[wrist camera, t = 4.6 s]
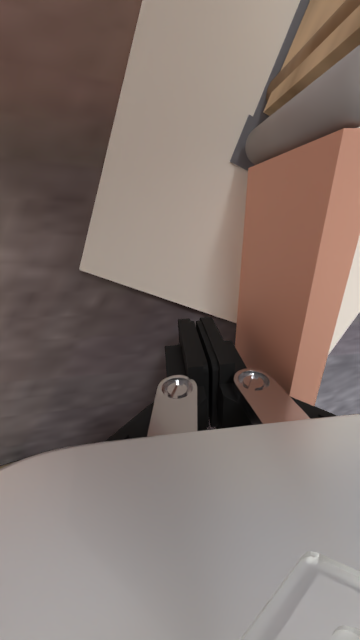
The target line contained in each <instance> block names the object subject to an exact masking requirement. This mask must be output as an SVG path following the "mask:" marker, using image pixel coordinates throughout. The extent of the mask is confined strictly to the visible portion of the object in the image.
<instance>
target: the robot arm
mask: <svg viewBox="0 0 360 640" xmlns="http://www.w3.org/2000/svg"><path fill="white" fill-rule="evenodd" d="M178 328H179V345H175V346H165V354H166V370H167V378H165V379H163V380H162V381H161V382H160V383H159V385H158V387H157V392H156V397H155V401H154V402H153V403H152V404H150V405H149V406H148V407H147V408H146V409H144V410H143V411H142V412H141V413H139V414H138V415H137V416H136V417H134V418H133V419H132V420H131V421H130V422H128V423H127V424H126V425H125V426H123V427H122V428H121V429H120V430H118V431H117V432H116V433H115V434H114V435H112V436H111V437H110V438H109V439H108V440H107V441H105V442H98V443H92V444H85V445H78V446H71V447H65V448H60V449H56V450H51V451H47V452H43V453H40V454H37V455H34V456H31V457H27V458H24V459H22V460H20V461H17V462H15V463H13V464H10V465H8V466H5V467H3V468H1V469H0V640H360V414H352V415H343V416H336V415H334V414H332V413H329V412H327V411H324V410H322V409H320V408H317V407H315V406H312V405H310V404H307V403H305V402H302V401H300V400H298V399H295V398H293V397H290V396H289V395H288V394H287V393H286V392H285V391H284V390H283V389H282V388H281V386H280V385H279V384H278V383H277V382H276V381H275V380H274V379H273V378H272V377H271V376H270V375H269V374H268V373H266V372H264V371H262V370H258V369H252V368H247V367H246V365H245V364H244V362H243V360H242V358H241V356H240V355H239V353H238V351H237V349H236V348H235V346H234V344H233V342H232V341H224V340H223V338H222V336H221V334H220V332H219V330H218V328H217V326H216V324H215V322H214V320H213V318H212V317H204V318H200V321H196V326H195V323H194V321H190V319H178ZM209 420H210V424H211V427H215V426H216V429H212V430H207V427H209Z"/></svg>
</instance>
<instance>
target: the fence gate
mask: <svg viewBox="0 0 360 640" xmlns="http://www.w3.org/2000/svg"><path fill="white" fill-rule="evenodd" d="M358 127H360V45H359V46H357V47H356V48H355V49H354V50H352V51H351V52H350V53H349V54H347V55H346V56H345V57H344V58H342V59H341V60H340V61H339V62H337V63H336V64H335V65H334V66H332V67H331V68H330V69H329V70H327V71H326V72H325V73H324V74H322V75H321V76H320V77H318V78H317V79H316V80H315V81H313V82H312V83H311V84H310V85H308V86H307V87H306V88H305V89H303V90H302V91H301V92H300V93H298V94H297V95H296V96H295V97H293V98H292V99H291V100H290V101H288V102H287V103H286V104H285V105H283V106H282V107H281V108H280V109H278V110H277V111H276V112H274V113H273V114H272V115H271V116H269V117H268V118H267V119H266V120H264V121H263V122H262V123H261V124H259V125H258V126H257V127H256V128H254V129H253V130H252V131H251V132H250V134H249V135H248V137H247V140H246V145H245V150H246V155H247V157H248V159H249V160H250V161H251V162H252V163H253V164H255V166H252V167H250V168H248V180H247V193H246V206H245V220H244V233H243V246H242V260H241V273H240V286H239V300H238V313H237V326H236V340H235V348H236V349H237V351H238V353H239V355H240V356H241V358H242V360H243V362H244V364H245V365H246V367H247V368H252V369H258V370H262V371H264V372H266V373H268V374H269V375H270V376H271V377H272V378H273V379H274V380H275V381H276V382H277V383H278V384H279V385H280V386H281V388H282V389H283V390H284V391H285V392H286V393H287V394H288V395H289V396H290V397H293V398H295V399H298V400H300V401H302V402H305V403H307V404H310V405H312V406H315V402H316V398H317V394H318V390H319V387H320V383H321V379H322V375H323V372H324V368H325V364H326V360H327V356H328V353H329V349H330V345H331V341H332V337H333V334H334V330H335V326H336V322H337V318H338V315H339V311H340V307H341V303H342V300H343V296H344V292H345V288H346V284H347V281H348V277H349V273H350V269H351V265H352V262H353V258H354V254H355V250H356V246H357V243H358V239H359V235H360V128H358Z"/></svg>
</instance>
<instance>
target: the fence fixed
mask: <svg viewBox="0 0 360 640" xmlns="http://www.w3.org/2000/svg"><path fill="white" fill-rule="evenodd" d="M359 45H360V0H310V2H309V4H308V7H307V9H306V11H305V14H304V16H303V19H302V21H301V23H300V26H299V28H298V31H297V33H296V35H295V38H294V40H293V42H292V45H291V47H290V50H289V52H288V54H287V57H286V59H285V61H284V64H283V66H282V69H281V71H280V72H279V73H278V74H277V76H276V77H275V78H274V79H273V80H272V81H271V82H270V84H269V86H268V89H267V93H266V100H267V104H266V107H265V109H264V111H263V113H265V114H267V115H269V116H271V115H272V114H273V113H274V112H276V111H277V110H278V109H280V108H281V107H282V106H283V105H285V104H286V103H287V102H288V101H290V100H291V99H292V98H293V97H295V96H296V95H297V94H298V93H300V92H301V91H302V90H303V89H305V88H306V87H307V86H308V85H310V84H311V83H312V82H313V81H315V80H316V79H317V78H318V77H320V76H321V75H322V74H324V73H325V72H326V71H327V70H329V69H330V68H331V67H332V66H334V65H335V64H336V63H337V62H339V61H340V60H341V59H342V58H344V57H345V56H346V55H347V54H349V53H350V52H351V51H352V50H354V49H355V48H356V47H357V46H359Z"/></svg>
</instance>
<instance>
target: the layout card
mask: <svg viewBox="0 0 360 640" xmlns="http://www.w3.org/2000/svg"><path fill="white" fill-rule="evenodd" d="M309 2H310V0H142V4H141V8H140V12H139V17H138V21H137V25H136V29H135V34H134V38H133V42H132V46H131V51H130V55H129V59H128V63H127V68H126V72H125V76H124V81H123V85H122V89H121V93H120V98H119V102H118V106H117V110H116V115H115V119H114V123H113V127H112V132H111V136H110V140H109V144H108V149H107V153H106V157H105V161H104V166H103V170H102V174H101V178H100V183H99V187H98V191H97V195H96V200H95V204H94V208H93V212H92V217H91V221H90V225H89V229H88V234H87V238H86V242H85V246H84V251H83V255H82V259H81V263H80V268H79V270H81V271H84V272H87V273H90V274H93V275H96V276H99V277H102V278H105V279H108V280H111V281H113V282H116V283H119V284H122V285H125V286H128V287H131V288H134V289H137V290H140V291H143V292H146V293H149V294H152V295H155V296H158V297H161V298H163V299H166V300H169V301H172V302H175V303H178V304H181V305H184V306H187V307H190V308H193V309H196V310H199V311H202V312H205V313H208V314H211V315H213V316H216V317H219V318H222V319H225V320H228V321H231V322H234V323H237V313H238V300H239V286H240V273H241V260H242V246H243V233H244V220H245V206H246V193H247V180H248V168H250V167H252V166H255V164H253V163H252V162H251V161H250V160H249V159H248V157H247V155H246V150H245V145H246V140H247V137H248V135H249V134H250V132H251V131H252V130H253V129H254V128H256V127H257V126H258V125H259V124H261V123H262V122H263V121H264V120H266V119H267V118H268V117H269V115H267V114H265V113H263V111H264V109H265V107H266V104H267V100H266V93H267V89H268V86H269V84H270V82H271V81H272V80H273V79H274V78H275V77H276V76H277V74H278V73H279V72H280V71H281V69H282V66H283V64H284V61H285V59H286V57H287V54H288V52H289V50H290V47H291V45H292V42H293V40H294V38H295V35H296V33H297V31H298V28H299V26H300V23H301V21H302V19H303V16H304V14H305V11H306V9H307V7H308V4H309ZM358 128H360V127H358ZM359 312H360V235H359V239H358V243H357V246H356V250H355V254H354V258H353V262H352V265H351V269H350V273H349V277H348V281H347V284H346V288H345V292H344V296H343V300H342V303H341V307H340V311H339V315H338V318H337V322H336V326H335V330H334V334H333V337H332V341H331V345H330V349H329V353H330V352H331V351H332V349H333V348H334V347H335V345H336V344H337V342H338V341H339V340H340V338H341V337H342V335H343V334H344V333H345V331H346V330H347V329H348V327H349V326H350V324H351V323H352V322H353V320H354V319H355V318H356V316H357V315H358V313H359ZM329 353H328V355H329Z"/></svg>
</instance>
